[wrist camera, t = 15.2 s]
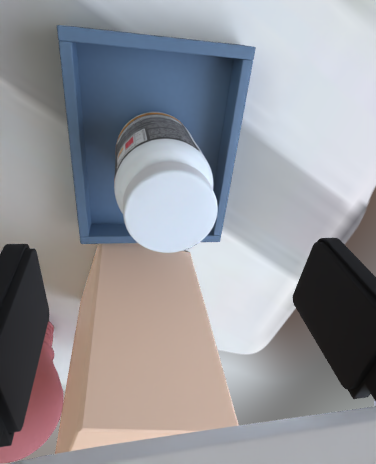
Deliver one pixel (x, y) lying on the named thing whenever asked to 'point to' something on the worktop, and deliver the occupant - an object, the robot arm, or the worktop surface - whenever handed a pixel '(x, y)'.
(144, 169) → the pill bottle
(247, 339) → the worktop surface
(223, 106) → the tray
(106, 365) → the soap dispenser
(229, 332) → the worktop surface
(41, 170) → the worktop surface
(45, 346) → the light bulb
